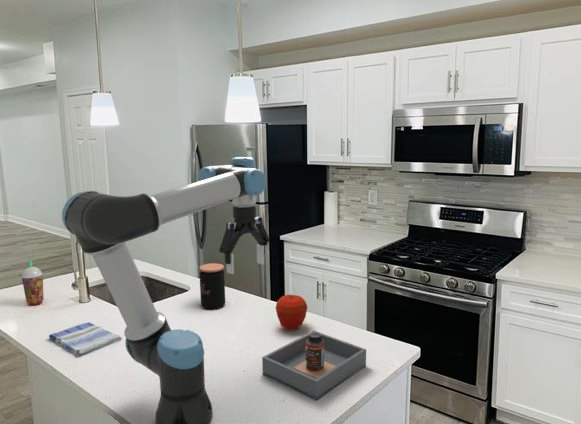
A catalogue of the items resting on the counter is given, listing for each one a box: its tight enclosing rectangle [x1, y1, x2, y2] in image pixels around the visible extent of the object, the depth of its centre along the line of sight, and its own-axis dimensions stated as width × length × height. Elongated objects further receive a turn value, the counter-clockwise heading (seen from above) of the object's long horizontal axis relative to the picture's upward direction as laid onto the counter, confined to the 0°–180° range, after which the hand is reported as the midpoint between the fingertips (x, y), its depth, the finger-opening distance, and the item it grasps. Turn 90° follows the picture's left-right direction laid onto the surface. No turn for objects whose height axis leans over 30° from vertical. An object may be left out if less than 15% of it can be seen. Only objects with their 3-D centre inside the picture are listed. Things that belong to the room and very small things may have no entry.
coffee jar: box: [198, 262, 226, 311], centre depth 205 cm, size 11×11×18 cm
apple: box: [275, 294, 308, 331], centre depth 182 cm, size 12×12×14 cm
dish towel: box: [48, 322, 123, 357], centre depth 175 cm, size 17×24×3 cm
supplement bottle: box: [306, 331, 324, 371], centre depth 150 cm, size 6×6×11 cm
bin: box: [261, 330, 367, 401], centre depth 151 cm, size 26×22×6 cm
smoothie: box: [21, 260, 45, 307], centre depth 209 cm, size 8×8×20 cm
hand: (245, 268), depth 155 cm, fingers open, 13 cm apart
